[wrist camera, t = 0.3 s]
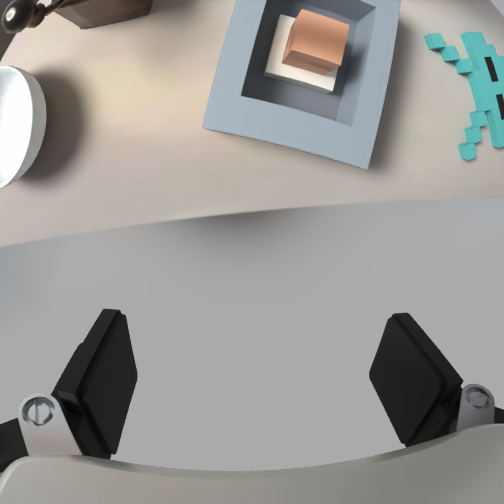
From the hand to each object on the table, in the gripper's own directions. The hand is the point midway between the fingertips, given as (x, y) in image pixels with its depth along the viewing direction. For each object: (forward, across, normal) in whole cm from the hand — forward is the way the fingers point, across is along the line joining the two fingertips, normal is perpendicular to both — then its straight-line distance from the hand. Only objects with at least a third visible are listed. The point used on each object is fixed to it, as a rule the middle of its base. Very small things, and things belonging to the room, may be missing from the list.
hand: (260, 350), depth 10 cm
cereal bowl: (+30, +33, -10) cm, 46 cm away
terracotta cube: (+26, -7, -18) cm, 33 cm away
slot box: (+30, -7, -18) cm, 36 cm away
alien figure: (+31, -39, -22) cm, 54 cm away
